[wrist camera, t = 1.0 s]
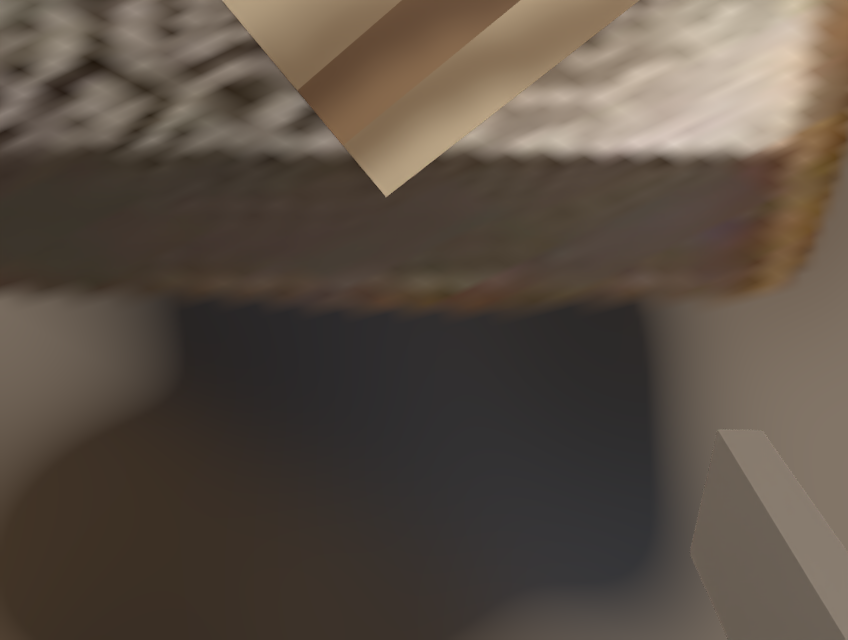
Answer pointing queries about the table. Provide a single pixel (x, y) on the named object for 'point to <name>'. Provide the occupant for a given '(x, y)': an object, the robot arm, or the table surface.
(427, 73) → the subfloor panel
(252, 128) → the table surface
